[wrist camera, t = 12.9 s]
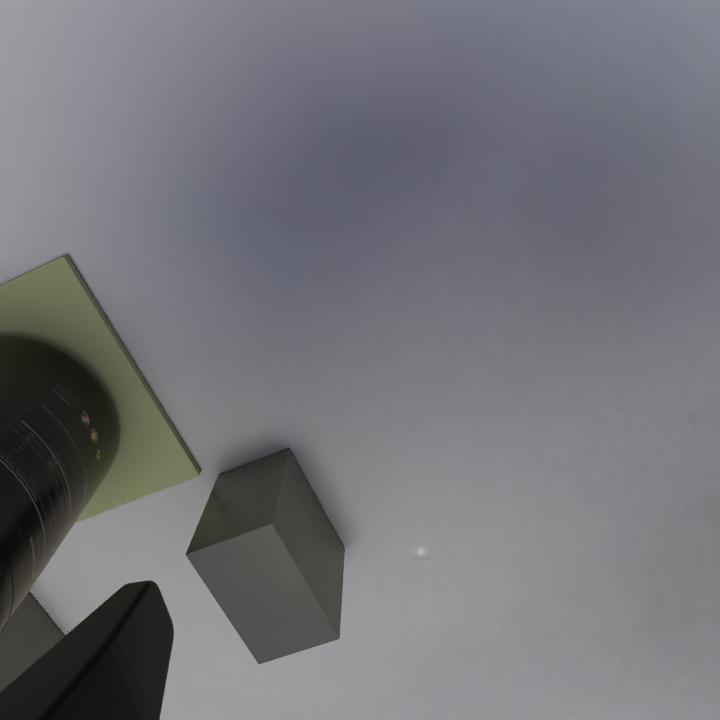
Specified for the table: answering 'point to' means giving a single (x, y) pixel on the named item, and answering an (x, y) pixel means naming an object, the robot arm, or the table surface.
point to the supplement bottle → (45, 457)
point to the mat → (100, 379)
